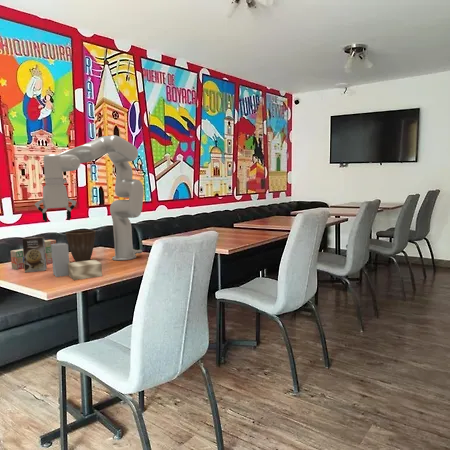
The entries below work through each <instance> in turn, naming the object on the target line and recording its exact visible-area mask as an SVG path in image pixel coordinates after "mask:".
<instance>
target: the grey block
mask: <svg viewBox="0 0 450 450" xmlns="http://www.w3.org/2000/svg"><path fill="white" fill-rule="evenodd" d="M69 251H70V250H69V245H68V243H66V242H60V243H56V244H51V252H52V273H53V276H54V275H55V276H54V277H56V278H60V276H61V277H66V276H69V272H68V263H70V255H69V254H70V252H69Z"/></svg>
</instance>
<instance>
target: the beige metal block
mask: <svg viewBox="0 0 450 450" xmlns="http://www.w3.org/2000/svg"><path fill="white" fill-rule="evenodd" d="M102 266H103V265H102V262H100V261H99V260H96V259H90V260H88V261H80V262H75V261H74V262H69V263H68V272H69V275H68V276H69V277H70V278H71V279H72V280H73V281H79V280H78V279H80V280H85V279H86V278H87V279H93V278H100V277H103V269H102V268H103V267H102Z"/></svg>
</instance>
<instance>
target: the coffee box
mask: <svg viewBox="0 0 450 450" xmlns="http://www.w3.org/2000/svg"><path fill="white" fill-rule="evenodd" d="M45 240H46V239H45V236H33V237H31V236H30V237H23V238H22V249H23V253H24V265H25V269H24V273H31V272H33V273H34V272H45V271H46V270H47V268H48V267H47V265H46V254H45Z"/></svg>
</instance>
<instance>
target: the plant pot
mask: <svg viewBox="0 0 450 450" xmlns="http://www.w3.org/2000/svg"><path fill="white" fill-rule="evenodd" d="M65 237H66V240H67V241H66V242H67V244H68V249H69V251H70V253H71V255H72V256H71V257H72V258H73V260H74V262H80V261H88V260H92V259H91V258H92V256H93V252H94V246H95V240H96V230H94V229H84V230H83V229H79V230H78V229H77V230H70V231H66V232H65Z"/></svg>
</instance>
